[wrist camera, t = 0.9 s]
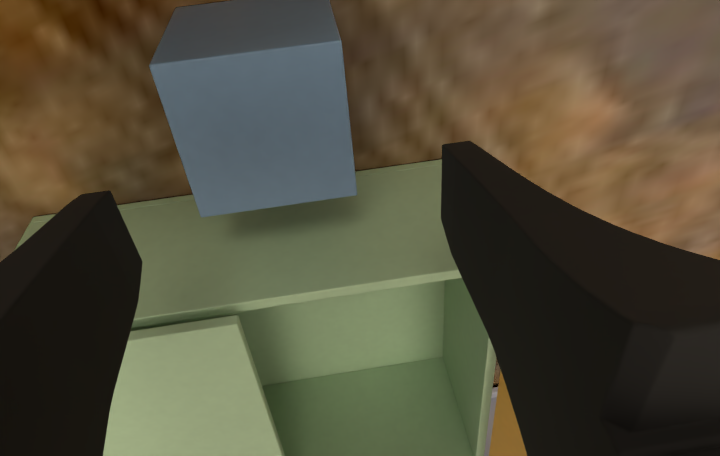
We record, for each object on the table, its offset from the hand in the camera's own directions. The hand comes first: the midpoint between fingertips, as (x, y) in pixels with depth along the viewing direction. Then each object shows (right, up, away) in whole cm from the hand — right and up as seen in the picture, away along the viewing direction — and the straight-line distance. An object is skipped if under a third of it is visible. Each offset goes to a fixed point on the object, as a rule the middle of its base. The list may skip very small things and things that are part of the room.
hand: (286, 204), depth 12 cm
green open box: (-2, -4, +13) cm, 14 cm away
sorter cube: (-2, +5, +7) cm, 8 cm away
